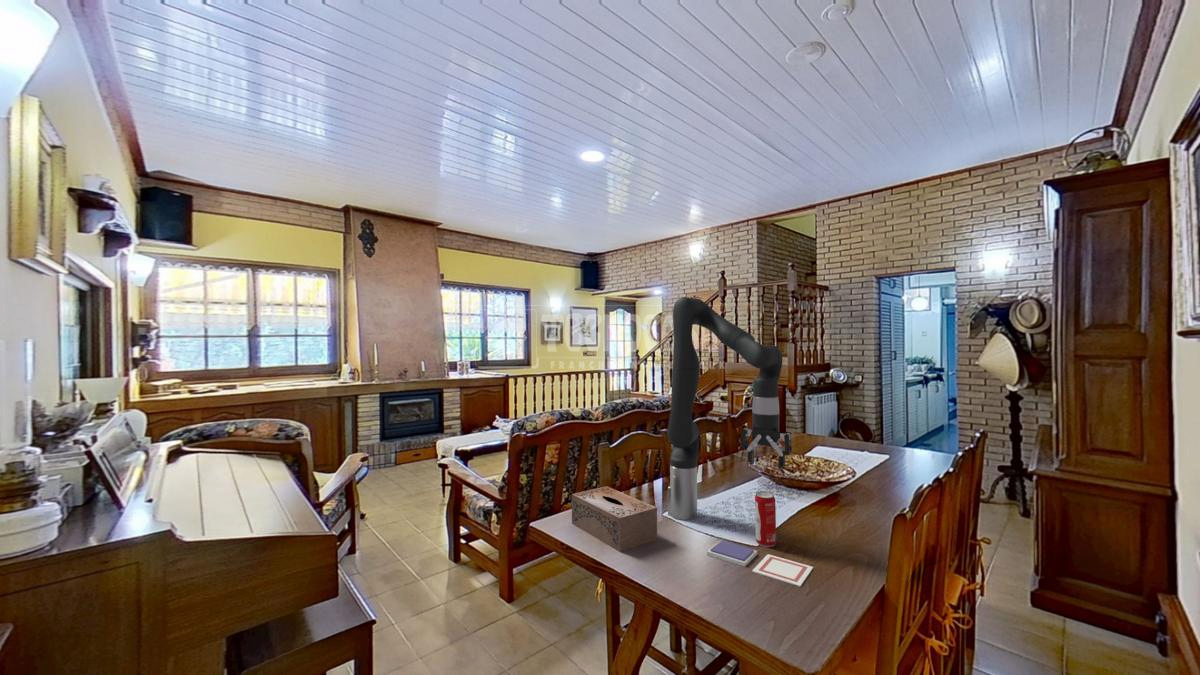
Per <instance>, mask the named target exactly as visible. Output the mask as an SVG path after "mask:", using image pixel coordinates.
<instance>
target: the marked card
mask: <svg viewBox="0 0 1200 675" xmlns="http://www.w3.org/2000/svg"><path fill="white" fill-rule="evenodd" d="M813 569H814V566H812V565H811V566H810V565H808V564H804V563H800V562H797V561H794V560H790V559H786V558H782V557H779V556H776V555H772V554H769V553H767V554H766V555H765V556H764V557H763V558H762V559H761V561H759V563H758V564H757V565H756V566H755V567H754V568H753V569H752V570H751V572H752V573H755V574H757V575H761V576H763V577H768V578H770V579H774V580H777V581H781V582H784V583H787V584H790V585H793V586H795V587H800V588H801V587H802V585H803V584H804V582H805V581H806V579H807V578H808V577H809V575H810V574H811V572H812V571H813Z"/></svg>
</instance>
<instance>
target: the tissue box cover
mask: <svg viewBox="0 0 1200 675" xmlns="http://www.w3.org/2000/svg"><path fill="white" fill-rule="evenodd" d="M571 524H572V525H573V526H575V527H577V528H578V529H580V530H582V531H584V532H585V533H587V534H588V535H590V536H592V537H594V538H595V539H597V540H599V541H600V542H601V543H603V544H605V545H607V546H609V547H611V548H612V549H614V550H615V551H617V552H618V553H622V552H625V551H627V550H631V549H633V548H636V547H639V546H643V545H645V544H648V543H650V542H654V541H657V540H658V507H656V506H655V505H653V504H649V503H648V502H645V501H643V500H641V499H638V498H635V497H633V496H631V495H628V494H626V493H624V492H621V491H619V490H616V489H614V488H612V487H610V486H607V485H606V486H602V487H598V488H597V487H596V488H593V489H588V490H584V491H579V492H575V493H572V494H571Z"/></svg>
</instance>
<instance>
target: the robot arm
mask: <svg viewBox="0 0 1200 675" xmlns="http://www.w3.org/2000/svg"><path fill="white" fill-rule="evenodd" d="M672 325H673V327H672V328H673V330H672V331H673V354H672V355H673V356H672V365H671V366H672V368H671V369H672V371H671V398H670V399H671V405H670V415H669V420H668V426H667V438H668V441H669V443H670V444H671V445H672V450H671V455H670V458H669V473H670V474H669V478H670V480H669V486H668V487H667V515H668V516H669V515H670V516H671V517H672V518H673V519H677V520H683V521H684V520H685V521H688V520H694V519H696V518H698V458H699V448H700V432H699V426H698V425H697V423H696V422H695V421H694V420H693V407H694V402H695V398H696V396H697V391H698V388H699V383H700V368H701V366H700V359H699V355H698V353H697V351H696V349H695V345H694V341H693V325H694V326H700V327H702V328H705V329H706V330H709V331H710V332H711V333H713V334H714V335H715V337H716V338H717V339H718V340H719V341H720V342H721V343H722V344H723V345H725V346H726V347H728V348H729V349H731V350H732V351H734V352H736V353H737V354H739V355H740V357H741V358H742V359H743V360H745V362H747V363H748V364H749V365H751V366H752V367H754V368H756V369H759V373H758V376H756V377H754V379H753V384H752V386H753V390H752V392H753V394H752V396H753V399H752V407H751V411H752V428H751V429H749V428H743V429H742V430H741V440H740V441H741V444H740V448H741V449H743V450H745V451H746V452H747V462H748V463H749V464H750V465H753V464H755V451H754V450H755V448H756V447H757V446H758V445H759V446H762V447H765V446H766V447H770V448H771V447H772V448H773V449H774V451H776V453H777V454H778V457H777V458H778V465H777V466H778V469H779V470H782V469H783V468H784V467H785V466H786V456H789V455H791V454H792V453H793V447H792V445H793V444H792V435H791V433H790V432H787V433H781V432H780V401H779V380H780V377H781V372H782V368H783V354H782V352H781V350H780V348H779V347H778V346H776V345H774V344H761V343H759V342H757V341H756V339H755V337H754V335H752V334H750V332H747V331H746V330H744V329H742V328H741V327H739V326H737V325H735V323H732V322H731V321H729V320H727V319H726V318H724V317H723V316H721V314H719V313H717V312H716V311H715V310H714V309H713V308H712V307H711V306H710V305H709V304H707V303H706V302H705V301H703V300H702V299H700V298H697V297H688V296H681V297H679V298H678V299H677V300H676V301H675V302H674V305H673V309H672ZM749 436H752V438H753V440H752V441H751V443H750V445H749ZM780 438H781V439H782V442H784V449H783V446H782V444H781V443H780V442H779V440H780Z"/></svg>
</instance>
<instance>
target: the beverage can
mask: <svg viewBox="0 0 1200 675" xmlns="http://www.w3.org/2000/svg"><path fill="white" fill-rule="evenodd" d="M754 511H755V512H754V514H755V515H754V516H755V518H754V519H755V541H756V543H757V545H759V546H761V547H765V548H771V547H774V546H776V545H777V513H776V498H775V495H774V493H773V492H770V491H766V490H761V491H757V492H756V493H755V496H754Z"/></svg>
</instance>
